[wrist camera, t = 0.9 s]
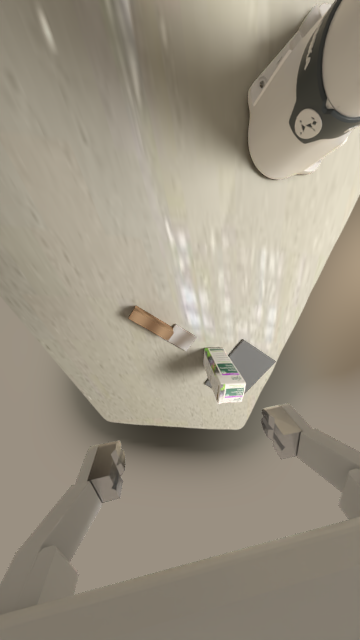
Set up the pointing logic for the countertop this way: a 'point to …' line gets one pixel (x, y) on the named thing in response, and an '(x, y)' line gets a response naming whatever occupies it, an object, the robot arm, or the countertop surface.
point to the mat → (249, 363)
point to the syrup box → (223, 376)
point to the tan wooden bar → (163, 328)
